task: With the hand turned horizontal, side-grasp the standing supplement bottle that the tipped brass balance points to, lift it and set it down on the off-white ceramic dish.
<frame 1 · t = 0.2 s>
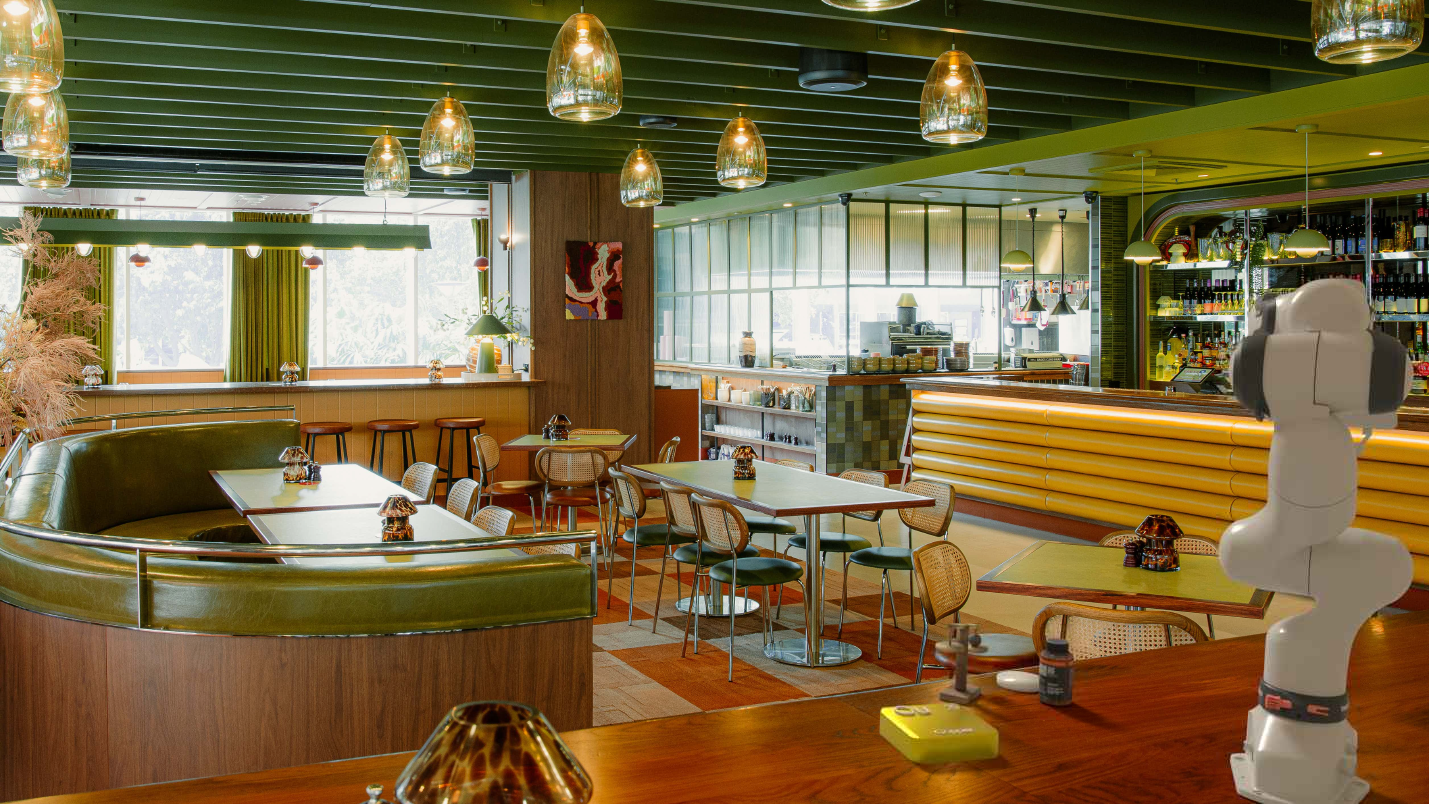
hand: (1326, 451, 190), 48 cm above the table, tool pointing down, fingers open, 8 cm apart
supplement bottle: (1054, 702, 198), on the table
element tile: (937, 747, 176), on the table
balance: (960, 696, 199), on the table
dish: (1020, 684, 207), on the table
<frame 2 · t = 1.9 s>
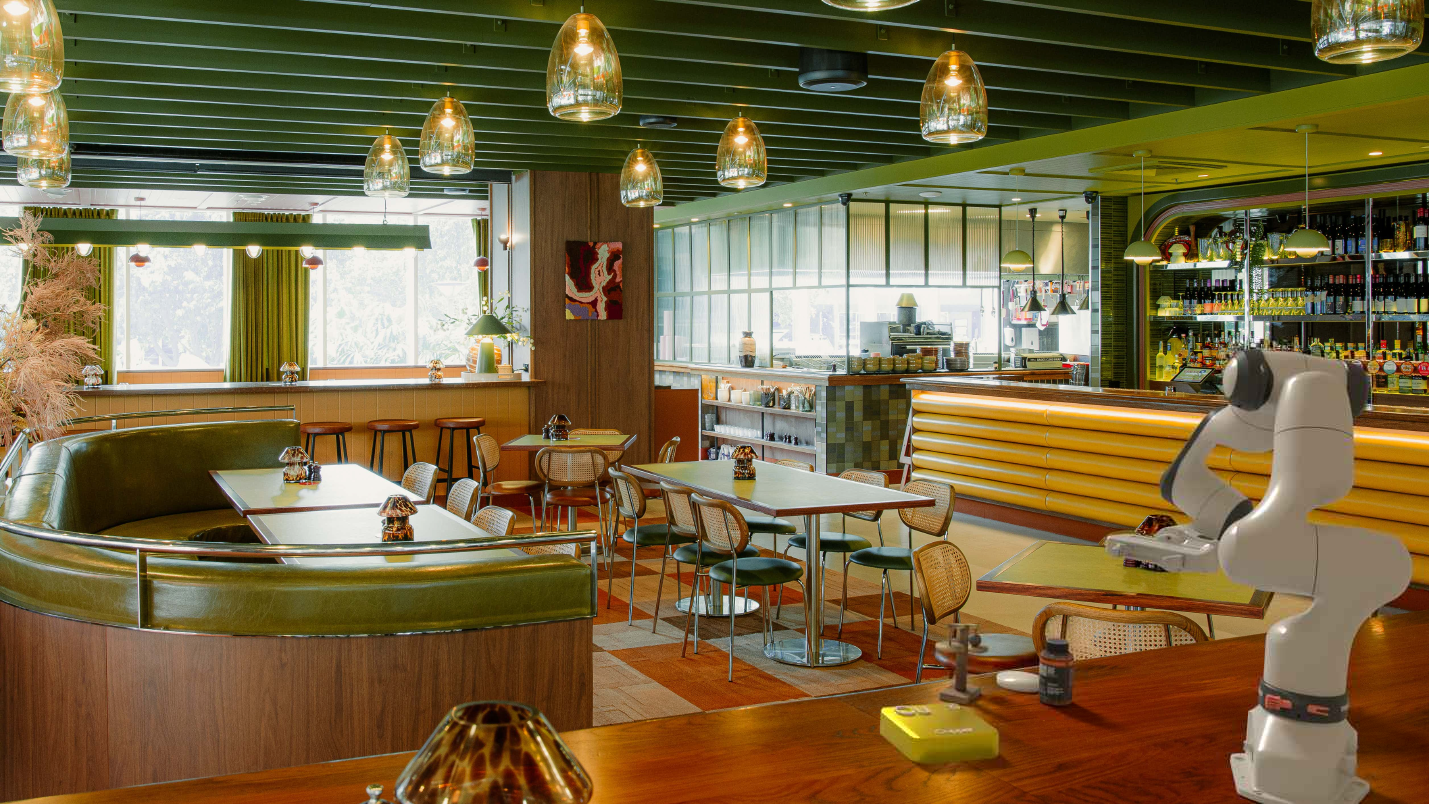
hand: (1137, 557, 204), 26 cm above the table, tool horizontal, fingers open, 8 cm apart
nothing on the table moved.
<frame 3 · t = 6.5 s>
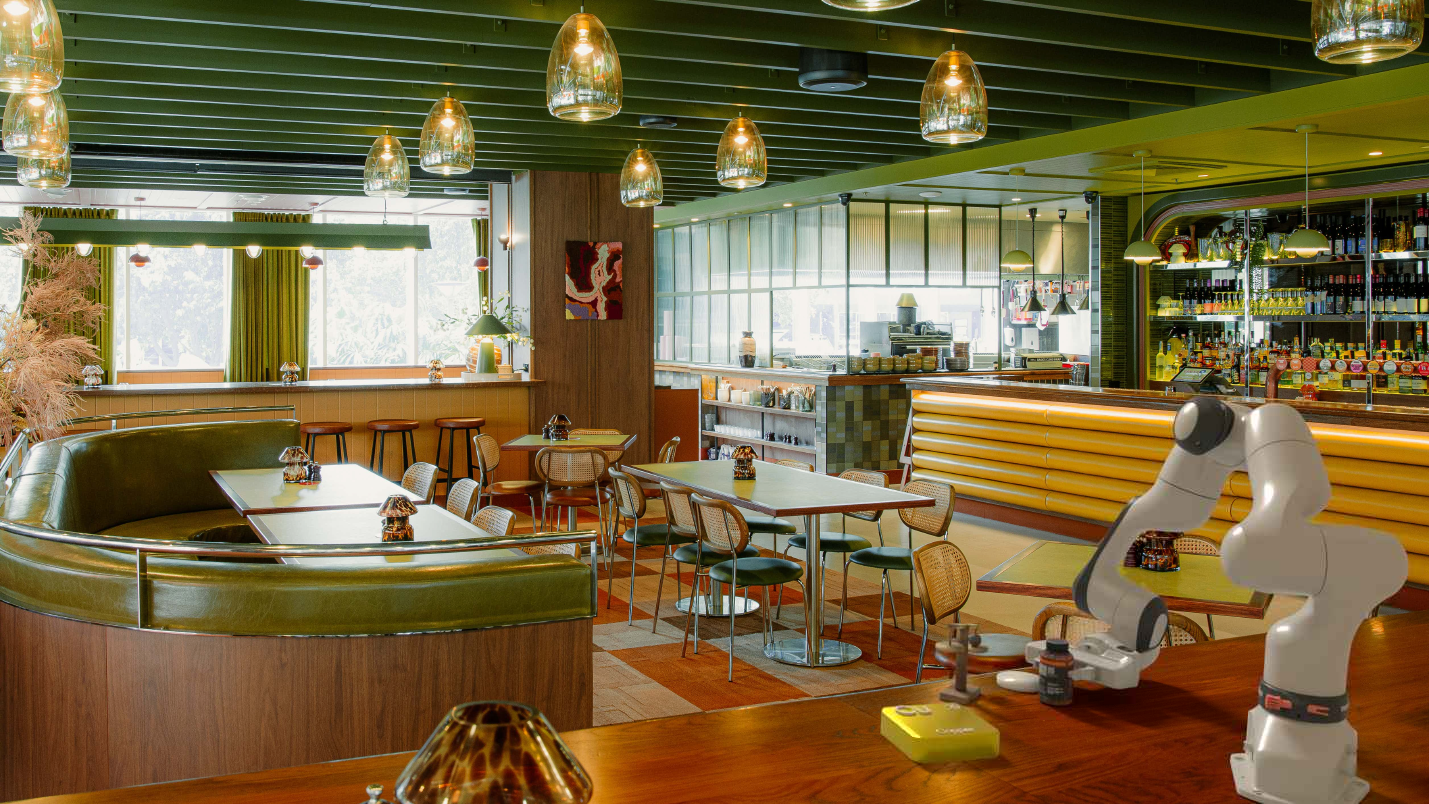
hand: (1053, 669, 197), 6 cm above the table, tool horizontal, fingers closed on supplement bottle, 6 cm apart
supplement bottle: (1054, 702, 198), on the table, touching gripper
everything else where it was.
when the fingers open (9 cm above the table, at t = 11.5 s): supplement bottle drops 1 cm, resting on dish.
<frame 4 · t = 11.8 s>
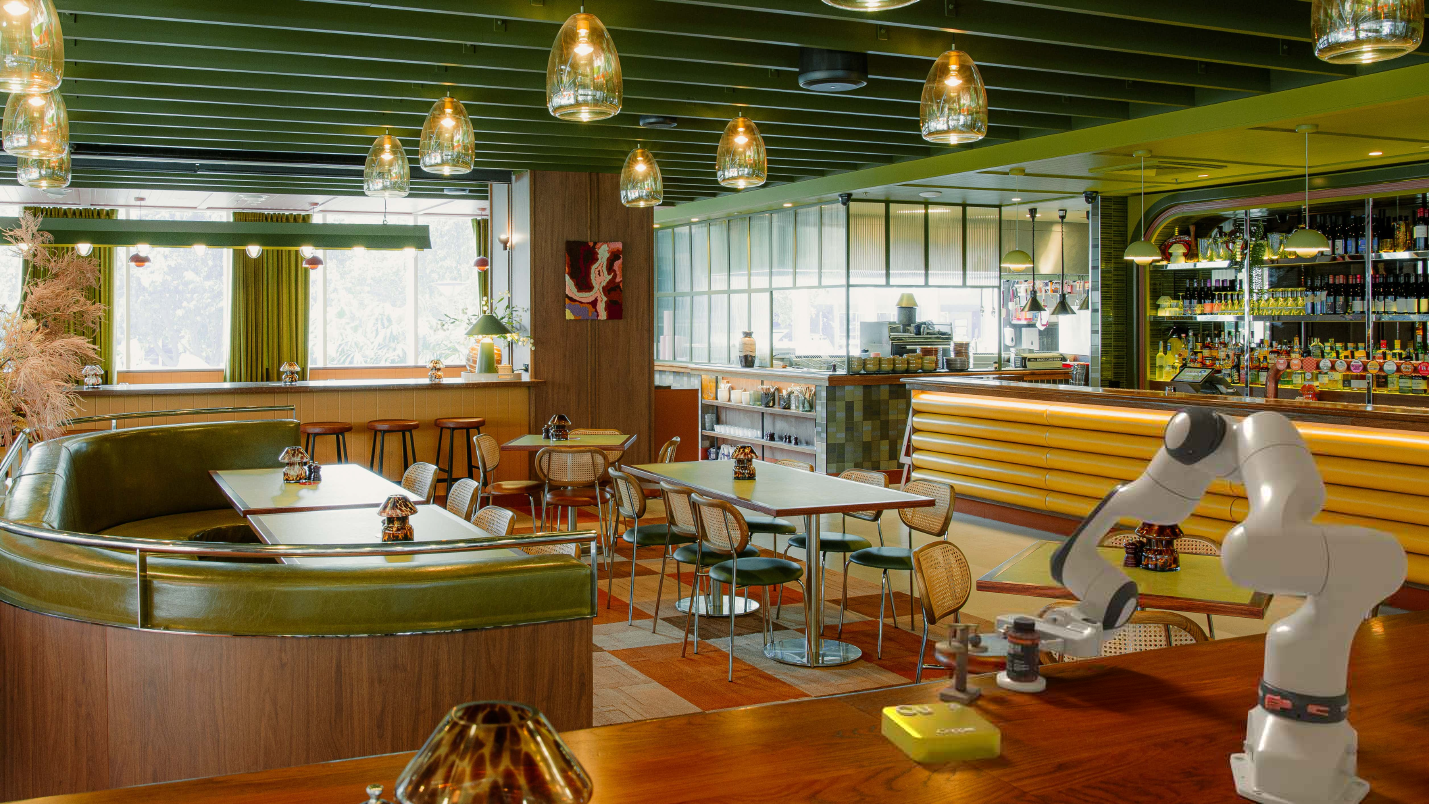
hand: (1020, 640, 206), 9 cm above the table, tool horizontal, fingers open, 8 cm apart
supplement bottle: (1021, 679, 207), point 1 cm above the table, touching dish
everything else where it was.
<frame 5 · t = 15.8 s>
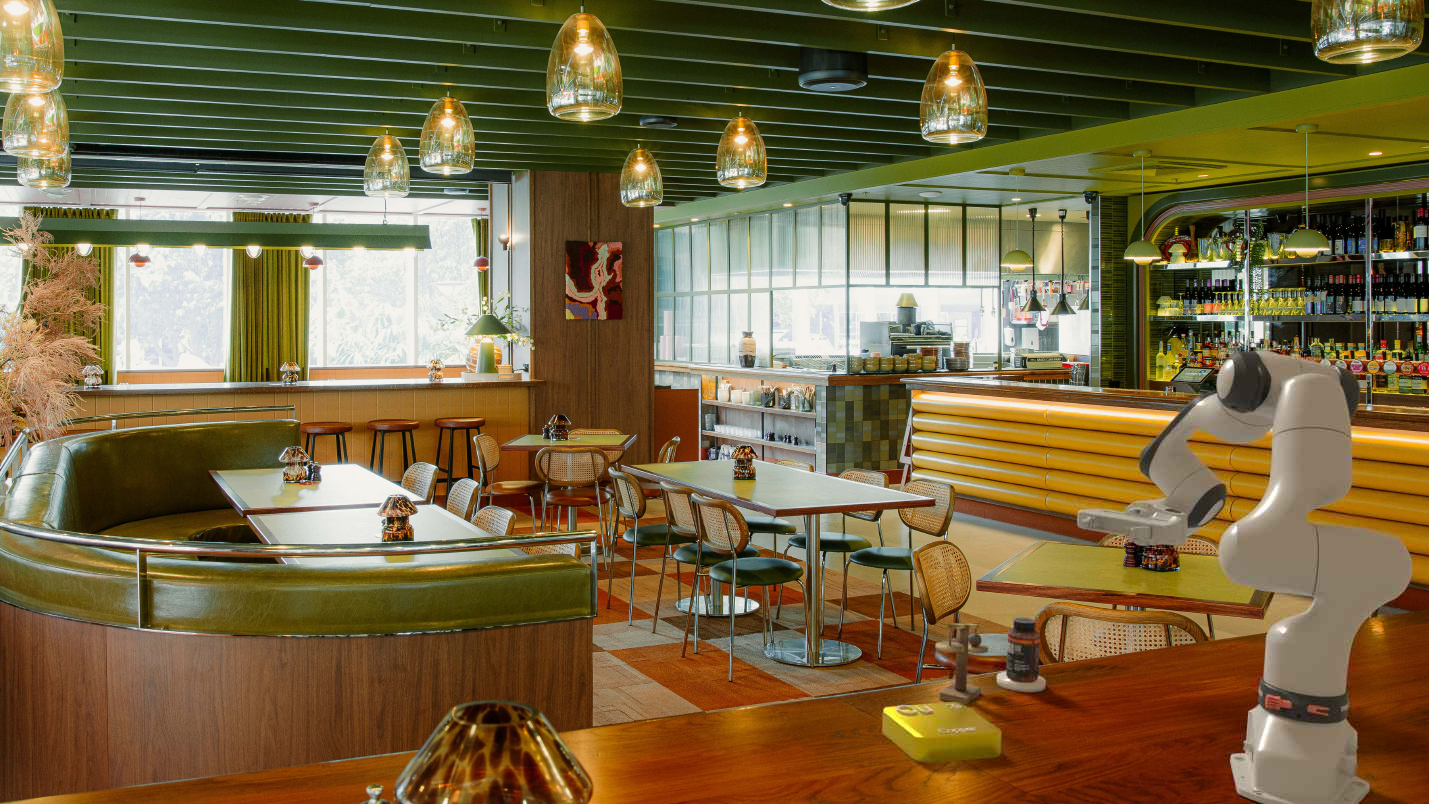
hand: (1106, 528, 209), 30 cm above the table, tool horizontal, fingers open, 8 cm apart
nothing on the table moved.
at the end: supplement bottle 0.1 cm from the dish (horizontally); supplement bottle touching dish; supplement bottle tilted 0° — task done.
